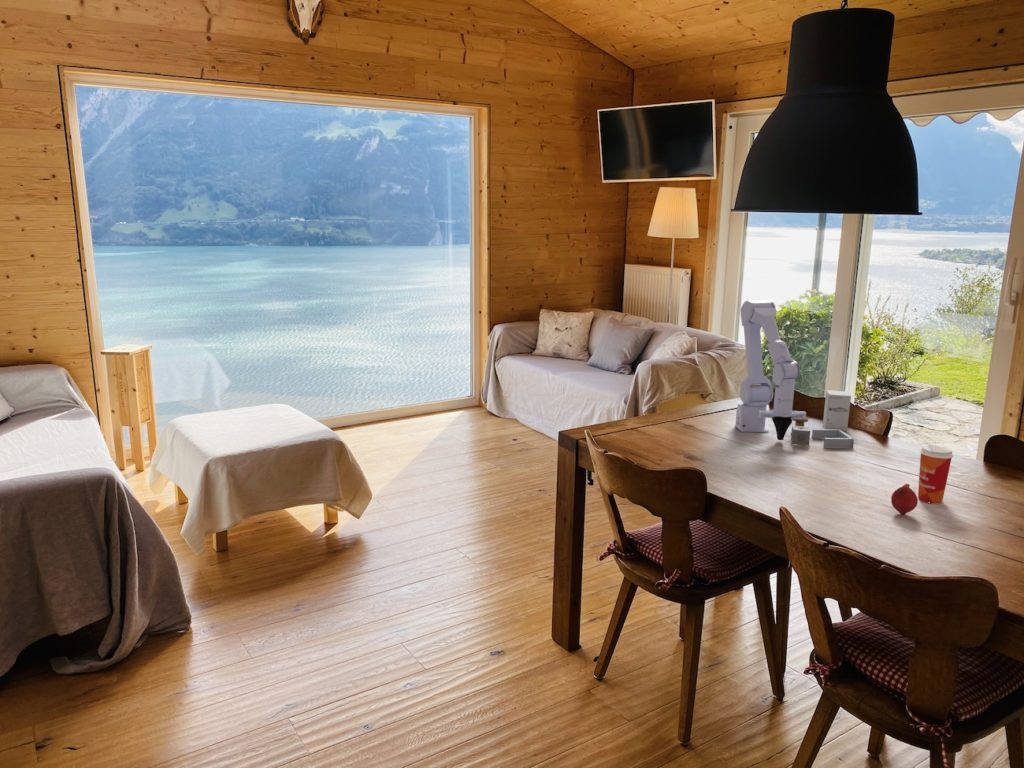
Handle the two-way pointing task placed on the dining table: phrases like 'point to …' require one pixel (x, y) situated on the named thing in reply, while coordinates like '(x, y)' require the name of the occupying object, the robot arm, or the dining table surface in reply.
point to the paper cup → (933, 472)
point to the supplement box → (836, 410)
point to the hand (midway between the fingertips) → (780, 439)
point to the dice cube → (800, 435)
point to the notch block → (833, 438)
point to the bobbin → (799, 421)
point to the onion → (904, 499)
